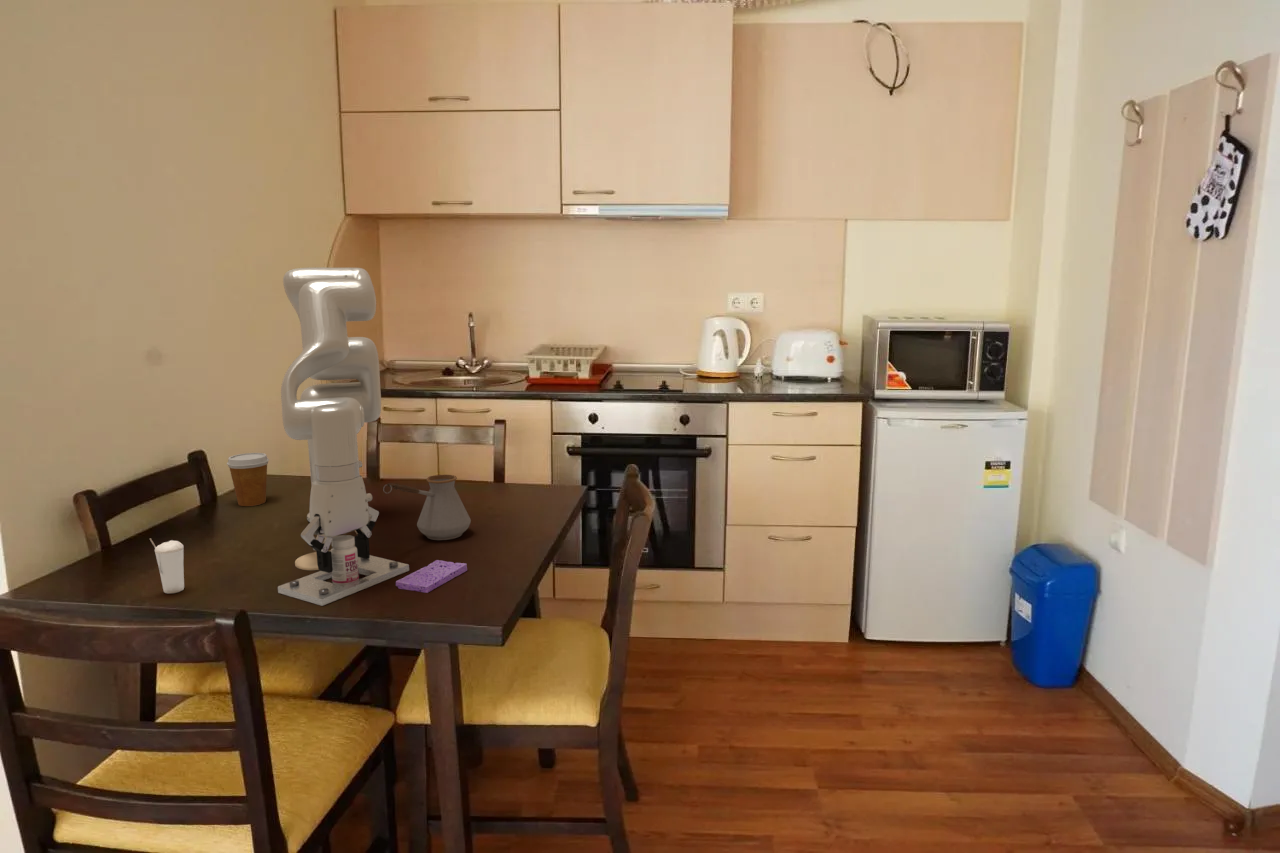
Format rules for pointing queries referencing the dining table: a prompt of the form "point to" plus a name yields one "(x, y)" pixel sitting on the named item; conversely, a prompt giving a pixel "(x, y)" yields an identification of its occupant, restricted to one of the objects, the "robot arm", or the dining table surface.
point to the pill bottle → (344, 560)
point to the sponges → (431, 576)
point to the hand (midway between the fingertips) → (344, 563)
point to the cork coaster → (307, 562)
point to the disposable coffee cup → (249, 477)
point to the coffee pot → (440, 508)
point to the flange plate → (325, 592)
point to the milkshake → (170, 565)
